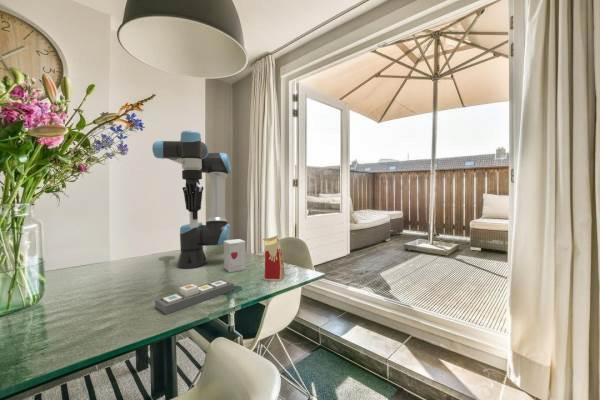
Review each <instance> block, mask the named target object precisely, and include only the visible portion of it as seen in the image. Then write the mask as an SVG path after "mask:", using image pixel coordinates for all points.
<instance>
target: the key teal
mask: <svg viewBox="0 0 600 400" xmlns="http://www.w3.org/2000/svg"><path fill="white" fill-rule="evenodd" d="M164 297H165V296H164ZM179 300H182V297H181V296H179V295H177V294H175V295H172V296H169V297H165V298H163V302H165V303H167V304H170V303H173V302H176V301H179Z"/></svg>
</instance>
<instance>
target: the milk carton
mask: <svg viewBox="0 0 600 400" xmlns="http://www.w3.org/2000/svg"><path fill="white" fill-rule="evenodd" d="M262 240H263V241H264V271H263V272H264V273H263V280H264V281H268V282H269V281H272V282H273V281H275V282H276V281H277V282H281V281H282V279H283V278H284V276H285V274H286V273H285V263H284V256H283V252H282V248H281V244H280V239H279V235H275V236H272V237H267V238H262Z"/></svg>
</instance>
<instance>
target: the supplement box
mask: <svg viewBox="0 0 600 400" xmlns="http://www.w3.org/2000/svg"><path fill="white" fill-rule="evenodd" d="M246 250H247V249H246V241H245V240H243V239H241V238H238V239H237V238H235V239H229V240H226V241H224V245H223V264H224V266H223V269H225V270H226V271H227V272H228V273H233V272H238V271H239V272H240V271H245V270H247V264H246V263H247V262H246V259H247V257H246Z"/></svg>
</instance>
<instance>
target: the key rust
mask: <svg viewBox="0 0 600 400" xmlns="http://www.w3.org/2000/svg"><path fill="white" fill-rule="evenodd" d="M198 286H199V285H198ZM198 286H197V285H196V284H193V283H191V284H186V285H183V286H181V287H179V292H180V295H182V296H184V297H186V298H187V297H190V296H193V295H196V294H199V290H198Z"/></svg>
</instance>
